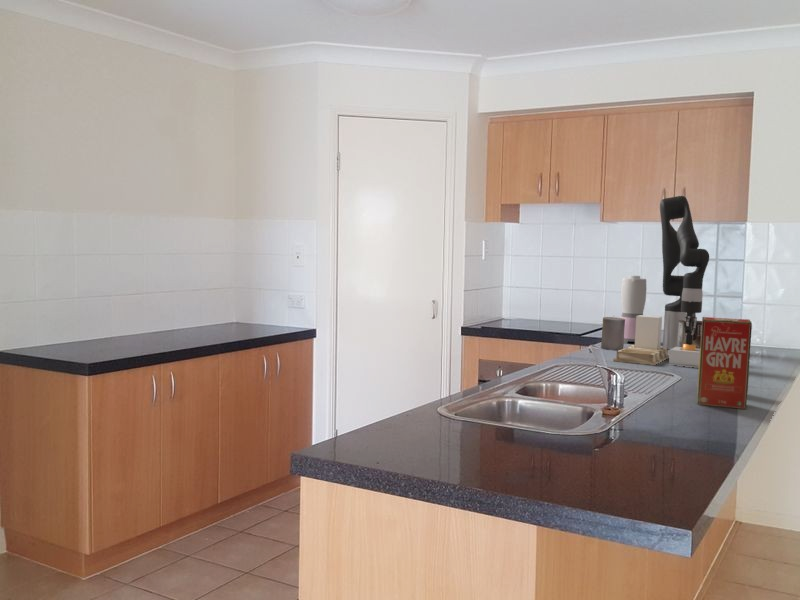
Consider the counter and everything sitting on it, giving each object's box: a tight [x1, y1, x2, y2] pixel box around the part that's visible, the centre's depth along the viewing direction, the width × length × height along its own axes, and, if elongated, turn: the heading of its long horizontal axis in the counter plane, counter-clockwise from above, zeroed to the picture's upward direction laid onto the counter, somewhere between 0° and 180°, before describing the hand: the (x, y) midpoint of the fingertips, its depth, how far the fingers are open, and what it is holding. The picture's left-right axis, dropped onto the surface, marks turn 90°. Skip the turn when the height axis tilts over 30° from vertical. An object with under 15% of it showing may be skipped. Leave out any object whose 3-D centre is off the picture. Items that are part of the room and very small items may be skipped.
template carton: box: [634, 314, 663, 350], centre depth 311 cm, size 6×9×16 cm, turn 59°
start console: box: [668, 347, 700, 369], centre depth 294 cm, size 12×12×6 cm
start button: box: [682, 344, 696, 351], centre depth 294 cm, size 5×5×5 cm
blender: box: [620, 274, 647, 344], centre depth 361 cm, size 16×12×32 cm
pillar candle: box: [600, 316, 625, 351], centre depth 335 cm, size 10×10×15 cm
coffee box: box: [677, 320, 702, 349], centre depth 307 cm, size 9×6×16 cm
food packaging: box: [696, 316, 753, 410], centre depth 219 cm, size 13×9×25 cm
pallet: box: [613, 344, 669, 366], centre depth 306 cm, size 27×16×4 cm, turn 149°
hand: (689, 344), depth 294 cm, fingers closed
